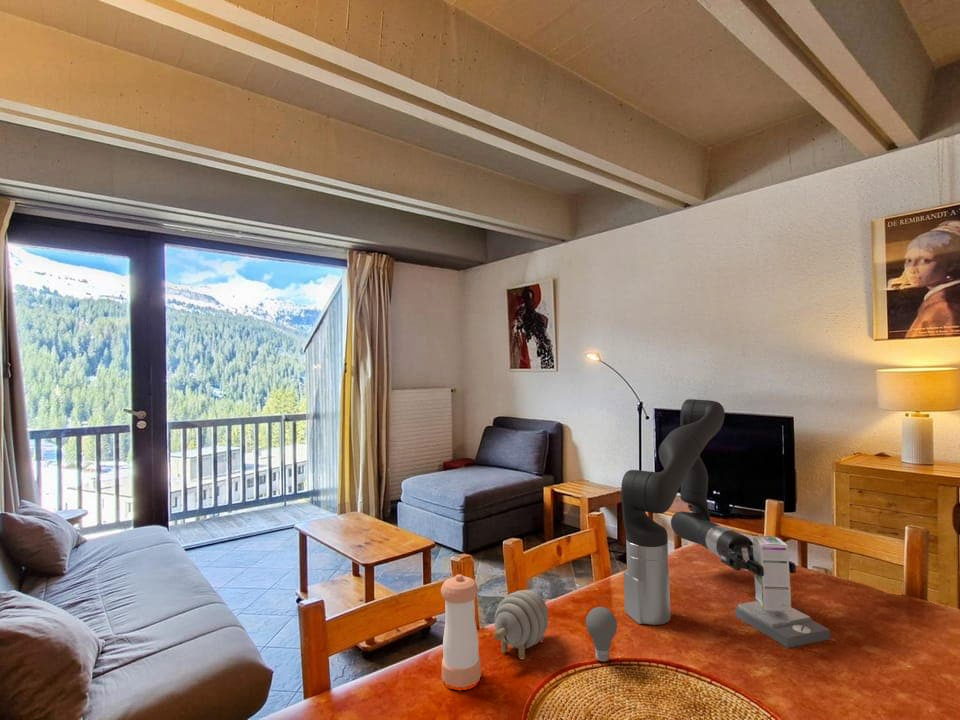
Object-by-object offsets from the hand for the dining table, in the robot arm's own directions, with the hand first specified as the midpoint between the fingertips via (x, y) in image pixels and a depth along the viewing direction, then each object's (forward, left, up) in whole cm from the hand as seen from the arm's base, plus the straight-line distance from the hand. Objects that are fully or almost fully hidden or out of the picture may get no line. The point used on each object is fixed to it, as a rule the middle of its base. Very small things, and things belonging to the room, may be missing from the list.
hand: (778, 570), depth 109 cm
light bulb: (-43, 0, -13) cm, 45 cm away
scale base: (0, 0, -12) cm, 12 cm away
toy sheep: (-57, +9, -13) cm, 59 cm away
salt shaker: (-71, +2, -13) cm, 72 cm away
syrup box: (0, +2, -9) cm, 9 cm away
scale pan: (0, +2, -10) cm, 10 cm away
